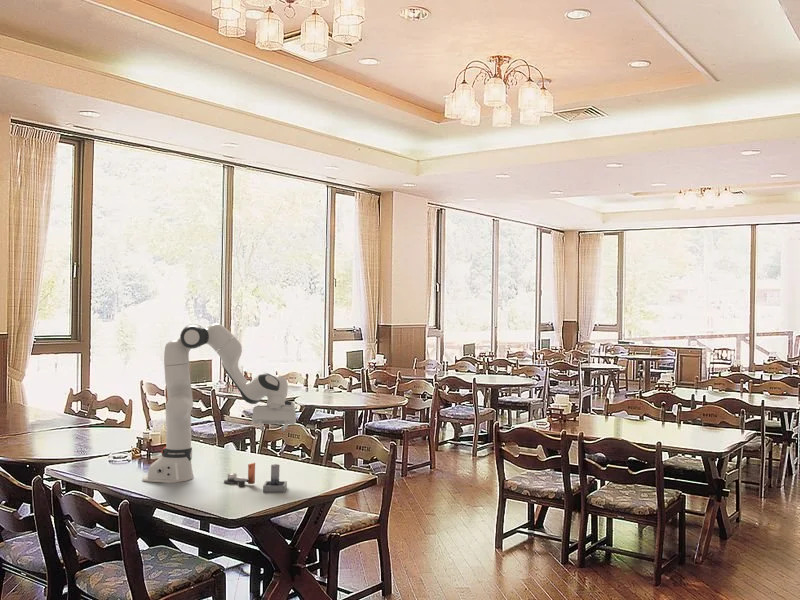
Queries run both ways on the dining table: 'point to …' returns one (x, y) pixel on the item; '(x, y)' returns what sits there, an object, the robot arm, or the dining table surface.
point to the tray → (275, 487)
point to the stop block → (241, 483)
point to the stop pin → (275, 475)
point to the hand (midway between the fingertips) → (272, 430)
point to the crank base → (231, 482)
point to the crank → (250, 478)
